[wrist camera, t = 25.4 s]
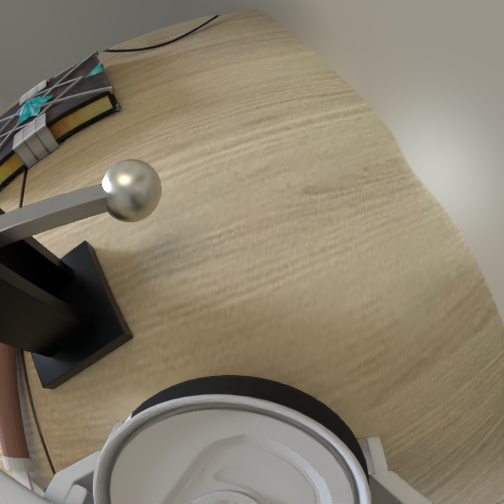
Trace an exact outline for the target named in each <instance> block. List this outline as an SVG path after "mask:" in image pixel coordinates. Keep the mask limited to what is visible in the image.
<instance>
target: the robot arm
mask: <svg viewBox="0 0 504 504" xmlns="http://www.w3.org/2000/svg"><path fill="white" fill-rule="evenodd" d="M124 423H125V422H122V421H118V422H117V423H116V424H115V426H114V428H113V429H112V431H111V433H110V435H109V437H108V439H107V441H108V440H109V439H110V437H111V436H112V435H113V434H114V433H115V432H116V430H117V429H118V428H119V427H121V426H122V425H123V424H124ZM107 441H106V443H107ZM357 441H358V443H359V445H360V447H361V449H362V451H363V454H364V456H365V459H366V462H367V468H368V474H369V489H370V493H371V504H432V502H431V501H430V500H428V499H427V498H426V497H424V496H423V495H422V494H421V493H419V492H418V491H417V490H416V489H414V488H413V487H412V486H411V485H409V484H408V483H407V482H406V481H404V480H403V479H402V478H401V477H400V476H398V475H397V474H396V473H395V472H394V471H389V470H388V466H387V462H386V458H385V454H384V451H383V447H382V443H381V440H380V438H379V437H378V436H374V437H367V438H357ZM106 443H105V444H106ZM104 446H105V445H104ZM100 453H101V451H99V450H98V451H96V452H94V453H93V454H91V455H89V456H87V457H85V458H84V459H82V460H80V461H78V462H76V463H74V464H73V465H71V466H69V467H67V468H65V469H63V470H61V471H59V472H57V473H56V474H55V475H54V477H53V479H52V481H51V483H50V484H49V486H48V488H47V490H46V492H45V494H44V496H43V497H42V496H40V495H39V494H37V493H35V492H34V491H32V490H30V489H29V488H27V487H26V486H24V485H23V484H21V483H20V482H18V481H16V480H15V479H14V478H12V477H11V476H9V475H8V474H6V473H5V472H4V471H2V470H1V469H0V504H94V497H93V476H94V471H95V467H96V462H97V460H98V458H99V456H100ZM497 504H504V500H502V501H500V502H499V503H497Z"/></svg>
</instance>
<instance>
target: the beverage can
mask: <svg viewBox="0 0 504 504" xmlns="http://www.w3.org/2000/svg"><path fill="white" fill-rule="evenodd" d="M93 497H94V504H371V493H370V489H369V474H368V468H367V462H366V459H365V456H364V454H363V451H362V449H361V447H360V445H359V443H358V441H357V439H356V437H355V436H354V434H353V433H352V431H351V430H350V428H349V427H348V426H347V425H346V424H345V422H344V421H343V420H342V419H341V418H340V417H339V416H338V415H337V414H336V413H334V412H333V411H332V410H331V409H330V408H328V407H327V406H326V405H325V404H323V403H322V402H320V401H319V400H317V399H315V398H314V397H312V396H310V395H308V394H306V393H304V392H302V391H300V390H298V389H296V388H293V387H291V386H288V385H285V384H282V383H279V382H276V381H272V380H268V379H263V378H257V377H250V376H238V375H221V376H210V377H203V378H197V379H193V380H189V381H186V382H182V383H179V384H177V385H174V386H171V387H169V388H167V389H165V390H163V391H160V392H159V393H157V394H155V395H154V396H152V397H151V398H149V399H148V400H146V401H145V402H143V403H142V404H141V405H140V406H139V407H138V408H137V409H136V410H135V411H133V413H132V414H131V415H130V416H129V418H128V419H127V420H126V421H125V423H124V424H123V425H122V426H121V427H119V428H118V429H117V430H116V432H115V433H114V434H113V435H112V436H111V437H110V439H109V440H108V441H107V443H106V444H105V446H104V447H103V449H102V451H101V453H100V456H99V458H98V460H97V462H96V467H95V471H94V476H93Z"/></svg>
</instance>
